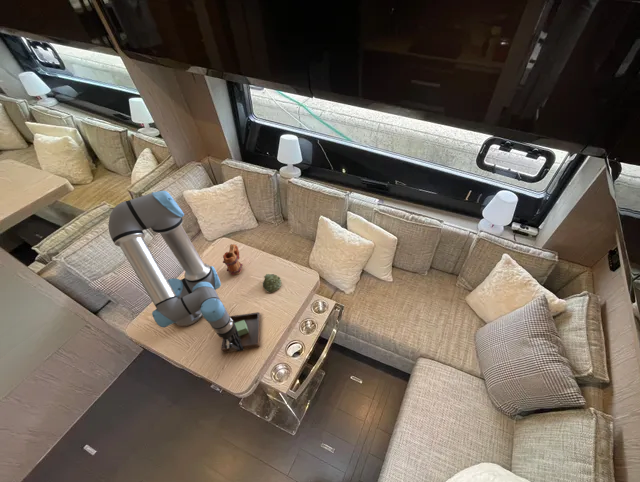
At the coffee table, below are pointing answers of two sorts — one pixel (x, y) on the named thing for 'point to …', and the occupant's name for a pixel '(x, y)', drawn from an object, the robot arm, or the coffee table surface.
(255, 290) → the coffee table surface
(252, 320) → the tray
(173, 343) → the coffee table surface
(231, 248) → the brown animal figurine
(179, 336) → the coffee table surface
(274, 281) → the green bumpy lump
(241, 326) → the block
